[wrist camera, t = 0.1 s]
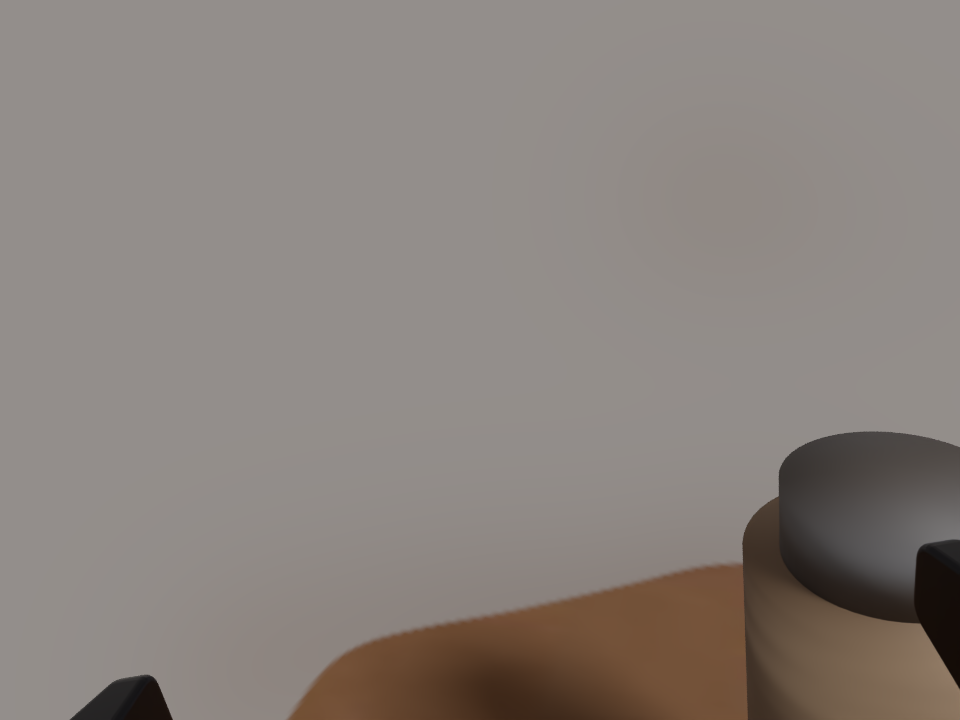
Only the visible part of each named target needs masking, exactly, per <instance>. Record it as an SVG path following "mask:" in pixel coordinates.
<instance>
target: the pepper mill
mask: <svg viewBox="0 0 960 720" xmlns="http://www.w3.org/2000/svg"><path fill="white" fill-rule="evenodd" d="M951 539H956V540H960V447H957V446H954V445H952V444H949V443H946V442H942V441H938V440H935V439H930V438H926V437H921V436H916V435H909V434H903V433H893V432H853V433H844V434H837V435H832V436H828V437H824V438H820V439H817V440H814V441H812V442H809V443H807V444H805V445H803V446H801V447H799V448H798V449H796V450H795V451H793V452H792V453H791V454H790V455H789V456H788V457H787V458H786V459H785V460H784V462H783V463H782V465H781V468H780V470H779V496H778V497H777V498H775V499H773V500H771V501H770V502H768V503H767V504H766V505H764V506H763V507H762V508H760V509H759V510H758V511H757V512H756V514H755V515H754V516H753V517H752V519H751V520H750V522H749V523H748V525H747V527H746V530H745V532H744V537H743V543H742V544H743V577H744V608H745V640H746V671H747V703H748V720H960V689H959V688H958V686H957V684H956V683H955V681H954V679H953V678H952V676H951V674H950V673H949V671H948V669H947V668H946V666H945V664H944V663H943V661H942V659H941V658H940V656H939V654H938V653H937V651H936V649H935V648H934V646H933V644H932V643H931V641H930V639H929V638H928V636H927V634H926V633H925V631H924V629H923V628H922V626H921V624H920V622H919V620H918V618H917V615H916V612H915V608H914V585H915V569H916V556H917V552H918V550H919V548H920V547H921V546H922V545H924V544H927V543H932V542H938V541H944V540H951Z"/></svg>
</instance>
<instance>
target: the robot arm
mask: <svg viewBox="0 0 960 720" xmlns="http://www.w3.org/2000/svg"><path fill="white" fill-rule="evenodd" d="M914 608H915V612H916V615H917V618H918V620H919V622H920V624H921V626H922V628H923V629H924V631H925V633H926V634H927V636H928V638H929V639H930V641H931V643H932V644H933V646H934V648H935V649H936V651H937V653H938V654H939V656H940V658H941V659H942V661H943V663H944V664H945V666H946V668H947V669H948V671H949V673H950V674H951V676H952V678H953V679H954V681H955V683H956V684H957V686H958V688H959V689H960V540H956V539H951V540H944V541H938V542H932V543H927V544H924V545H922V546H921V547H920V548H919V550H918V552H917V556H916V569H915V585H914ZM70 720H173V719H172V717H171V714H170V712H169V709H168V707H167V704H166V702H165V700H164V697H163V694H162V692H161V689H160V687H159V685H158V683H157V681H156V680H155V678H154V677H152V676H150V675H140V676H135V677H129V678H123V679H119V680H116V681H114V682H112V683H111V684H110V685H109V686H108V687H106V688H105V689H104V690H103V691H102V692H101V693H100V694H99V695H98V696H96V697H95V698H94V699H93V700H92V701H90V702H89V703H88V704H87V705H86V706H85V707H84V708H83V709H81V710H80V711H79V712H78V713H77V714H76V715H75V716H74V717H72V718H71V719H70Z"/></svg>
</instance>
